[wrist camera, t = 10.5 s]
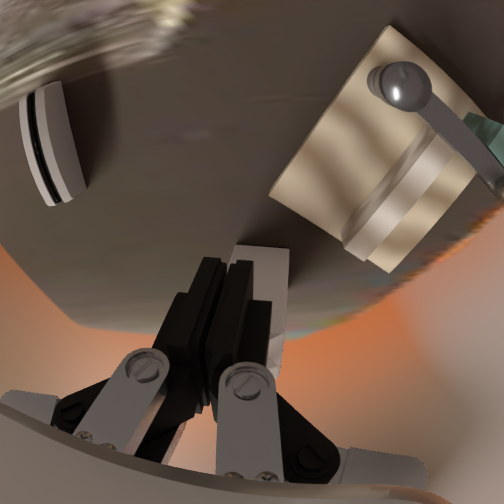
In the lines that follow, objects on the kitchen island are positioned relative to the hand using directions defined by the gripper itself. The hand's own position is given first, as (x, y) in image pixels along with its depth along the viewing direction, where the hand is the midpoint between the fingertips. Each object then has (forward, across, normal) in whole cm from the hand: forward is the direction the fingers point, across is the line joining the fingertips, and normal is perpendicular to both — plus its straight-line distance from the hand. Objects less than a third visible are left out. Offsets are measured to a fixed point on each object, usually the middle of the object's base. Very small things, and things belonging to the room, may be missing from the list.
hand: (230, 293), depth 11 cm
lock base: (+27, -14, +1) cm, 31 cm away
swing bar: (+21, -17, -4) cm, 27 cm away
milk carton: (+27, +1, +18) cm, 33 cm away
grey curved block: (+28, +28, -1) cm, 39 cm away
